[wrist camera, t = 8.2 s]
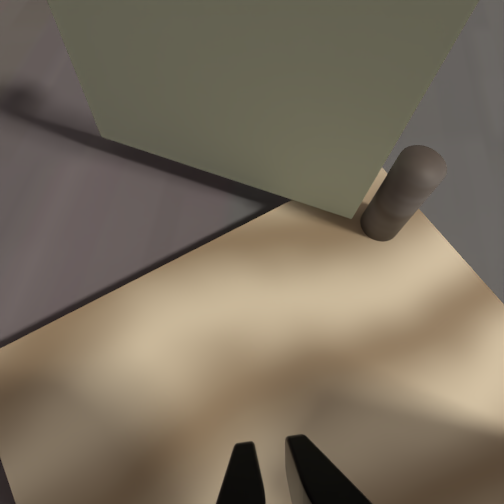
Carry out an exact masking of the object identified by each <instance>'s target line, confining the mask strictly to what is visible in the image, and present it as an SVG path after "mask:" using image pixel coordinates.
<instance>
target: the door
mask: <svg viewBox="0 0 504 504" xmlns="http://www.w3.org/2000/svg"><path fill="white" fill-rule="evenodd" d="M47 2H48V4H49V7H50V9H51V12H52V14H53V17H54V19H55V22H56V24H57V27H58V29H59V32H60V34H61V37H62V39H63V42H64V44H65V47H66V49H67V52H68V54H69V57H70V59H71V62H72V64H73V67H74V69H75V72H76V74H77V77H78V79H79V82H80V84H81V87H82V89H83V92H84V94H85V97H86V99H87V102H88V104H89V107H90V109H91V112H92V114H93V117H94V119H95V122H96V125H97V127H98V130H99V132H100V135H101V137H103V138H106V139H109V140H112V141H115V142H118V143H121V144H125V145H128V146H131V147H134V148H137V149H140V150H143V151H146V152H149V153H152V154H155V155H158V156H161V157H164V158H167V159H170V160H173V161H176V162H179V163H182V164H185V165H188V166H191V167H194V168H197V169H201V170H204V171H207V172H210V173H213V174H216V175H219V176H222V177H225V178H228V179H231V180H234V181H237V182H240V183H243V184H246V185H249V186H252V187H255V188H258V189H261V190H264V191H267V192H270V193H273V194H276V195H280V196H283V197H286V198H289V199H292V200H295V201H298V202H301V203H304V204H307V205H310V206H313V207H316V208H319V209H322V210H325V211H328V212H331V213H334V214H337V215H340V216H343V217H346V218H349V219H352V218H353V216H354V214H355V213H356V211H357V209H358V207H359V206H360V204H361V202H362V201H363V199H364V197H365V195H366V194H367V192H368V190H369V189H370V187H371V185H372V183H373V182H374V180H375V178H376V177H377V175H378V173H379V171H380V170H381V168H382V166H383V165H384V163H385V161H386V159H387V158H388V156H389V154H390V153H391V151H392V149H393V147H394V146H395V144H396V142H397V141H398V139H399V137H400V135H401V134H402V132H403V130H404V129H405V127H406V125H407V123H408V122H409V120H410V118H411V117H412V115H413V113H414V111H415V110H416V108H417V106H418V105H419V103H420V101H421V99H422V98H423V96H424V94H425V93H426V91H427V89H428V87H429V86H430V84H431V82H432V81H433V79H434V77H435V75H436V74H437V72H438V70H439V69H440V67H441V65H442V63H443V62H444V60H445V58H446V57H447V55H448V53H449V51H450V50H451V48H452V46H453V45H454V43H455V41H456V39H457V38H458V36H459V34H460V32H461V31H462V29H463V27H464V26H465V24H466V22H467V20H468V19H469V17H470V15H471V14H472V12H473V10H474V8H475V7H476V5H477V3H478V2H479V0H47Z"/></svg>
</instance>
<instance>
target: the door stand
mask: <svg viewBox="0 0 504 504" xmlns="http://www.w3.org/2000/svg"><path fill="white" fill-rule="evenodd" d="M446 173H447V166H446V163H445V161H444V159H443V158H442V157H441V155H440V154H438V153H437V152H436V151H434V150H433V149H431V148H429V147H426V146H421V145H413V146H409V147H407V148H405V149H404V150H402V152H401V153H400V155H399V156H398V158H397V160H396V161H395V163H394V164H393V166H392V168H391V169H390V171H389V172H388V174H387V173H386V172H385V170H384V169H383V168H381V170H380V171H379V173H378V175H377V177H376V178H375V180H374V182H373V183H372V185H371V187H370V189H369V190H368V192H367V194H366V195H365V197H364V199H363V201H362V202H361V204H360V206H359V207H358V209H357V211H356V213H355V214H354V216H353V218H352V219H349V218H346V217H343V216H340V215H337V214H334V213H331V212H328V211H325V210H322V209H319V208H316V207H313V206H310V205H307V204H304V203H301V202H298V201H295V200H291V201H289V202H287V203H285V204H283V205H281V206H279V207H277V208H275V209H273V210H271V211H269V212H267V213H265V214H263V215H262V216H260V217H258V218H256V219H254V220H252V221H250V222H248V223H246V224H244V225H242V226H240V227H238V228H236V229H234V230H232V231H230V232H228V233H226V234H224V235H222V236H220V237H218V238H216V239H214V240H212V241H210V242H208V243H207V244H205V245H203V246H201V247H199V248H197V249H195V250H193V251H191V252H189V253H187V254H185V255H183V256H181V257H179V258H177V259H175V260H173V261H171V262H169V263H167V264H165V265H163V266H161V267H159V268H157V269H155V270H153V271H152V272H150V273H148V274H146V275H144V276H142V277H140V278H138V279H136V280H134V281H132V282H130V283H128V284H126V285H124V286H122V287H120V288H118V289H116V290H114V291H112V292H110V293H108V294H106V295H104V296H102V297H100V298H98V299H97V300H95V301H93V302H91V303H89V304H87V305H85V306H83V307H81V308H79V309H77V310H75V311H73V312H71V313H69V314H67V315H65V316H63V317H61V318H59V319H57V320H55V321H53V322H51V323H49V324H47V325H45V326H43V327H41V328H40V329H38V330H36V331H34V332H32V333H30V334H28V335H26V336H24V337H22V338H20V339H18V340H16V341H14V342H12V343H10V344H8V345H6V346H4V347H2V348H0V458H1V461H2V464H3V467H4V470H5V473H6V476H7V479H8V482H9V485H10V488H11V491H12V494H13V497H14V500H15V503H16V504H216V501H217V498H218V495H219V492H220V488H221V485H222V482H223V479H224V476H225V472H226V469H227V466H228V463H229V460H230V456H231V453H232V450H233V447H234V445H235V444H236V443H240V442H247V441H253V442H254V444H255V448H256V452H257V457H258V461H259V466H260V471H261V475H262V480H263V484H264V490H265V499H266V504H292V502H291V497H290V492H289V487H288V482H287V476H286V468H285V438H286V437H287V436H290V435H297V434H304V435H306V436H307V437H308V438H309V439H310V440H311V441H312V442H313V443H314V444H315V445H316V446H317V447H318V448H319V449H320V450H321V451H322V452H323V453H324V454H325V455H326V456H327V457H328V458H329V459H330V460H331V461H332V462H333V463H334V465H335V466H336V467H337V468H338V469H339V470H340V471H341V472H342V473H343V474H344V475H345V476H346V477H347V478H348V479H349V480H350V481H351V482H352V483H353V484H354V485H355V486H356V487H357V488H358V489H359V490H360V491H361V492H362V493H363V494H364V495H365V496H366V497H367V498H368V499H369V500H370V501H371V502H372V503H373V504H504V304H503V303H502V302H501V301H500V300H499V299H498V297H497V296H496V295H495V294H494V293H493V292H492V291H491V290H490V289H489V287H488V286H487V285H486V284H485V283H484V282H483V281H482V280H481V278H480V277H479V276H478V275H477V274H476V273H475V272H474V271H473V269H472V268H471V267H470V266H469V265H468V264H467V263H466V262H465V260H464V259H463V258H462V257H461V256H460V255H459V254H458V253H457V251H456V250H455V249H454V248H453V247H452V246H451V245H450V244H449V242H448V241H447V240H446V239H445V238H444V237H443V236H442V235H441V233H440V232H439V231H438V230H437V229H436V228H435V227H434V226H433V224H432V223H431V222H430V221H429V220H428V219H427V218H426V217H425V215H424V214H423V213H422V212H421V211H420V210H419V207H420V206H421V205H422V204H423V203H424V202H425V200H426V199H427V198H428V197H429V196H430V194H431V193H432V192H433V191H434V190H435V188H436V187H437V186H438V185H439V184H440V183H441V181H442V180H443V179H444V178H445V176H446Z"/></svg>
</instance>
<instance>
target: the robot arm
mask: <svg viewBox="0 0 504 504" xmlns="http://www.w3.org/2000/svg"><path fill="white" fill-rule="evenodd" d="M285 468H286V476H287V482H288V487H289V492H290V497H291V502H292V504H373V503H372V502H371V501H370V500H369V499H368V498H367V497H366V496H365V495H364V494H363V493H362V492H361V491H360V490H359V489H358V488H357V487H356V486H355V485H354V484H353V483H352V482H351V481H350V480H349V479H348V478H347V477H346V476H345V475H344V474H343V473H342V472H341V471H340V470H339V469H338V468H337V467H336V466H335V465H334V463H333V462H332V461H331V460H330V459H329V458H328V457H327V456H326V455H325V454H324V453H323V452H322V451H321V450H320V449H319V448H318V447H317V446H316V445H315V444H314V443H313V442H312V441H311V440H310V439H309V438H308V437H307V436H306V435H304V434H297V435H290V436H287V437H286V438H285ZM216 504H266V499H265V490H264V484H263V480H262V475H261V471H260V466H259V461H258V457H257V452H256V448H255V444H254V442H253V441H247V442H240V443H236V444H235V445H234V447H233V450H232V453H231V456H230V460H229V463H228V466H227V469H226V472H225V476H224V479H223V482H222V485H221V488H220V492H219V495H218V498H217V501H216Z"/></svg>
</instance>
